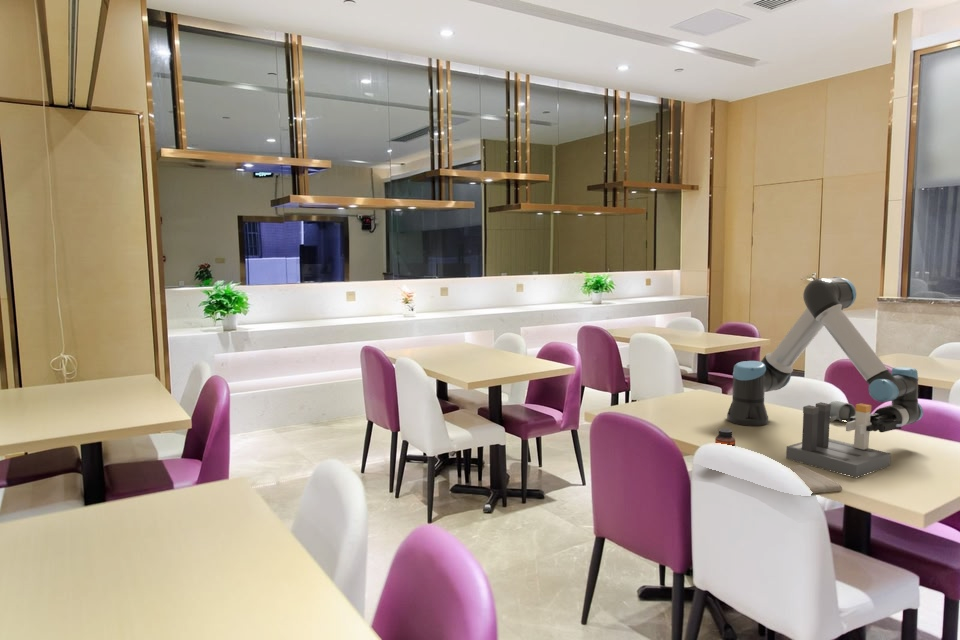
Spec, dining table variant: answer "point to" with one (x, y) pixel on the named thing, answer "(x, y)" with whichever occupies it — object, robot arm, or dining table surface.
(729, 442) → the supplement bottle
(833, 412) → the ceramic mug
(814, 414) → the grey peg stand
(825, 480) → the washcloth
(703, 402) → the dining table surface
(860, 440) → the handle
